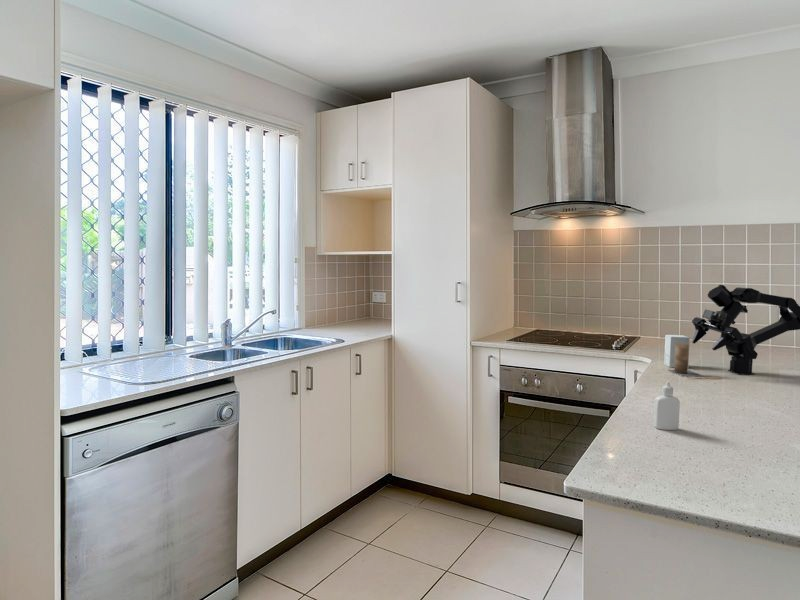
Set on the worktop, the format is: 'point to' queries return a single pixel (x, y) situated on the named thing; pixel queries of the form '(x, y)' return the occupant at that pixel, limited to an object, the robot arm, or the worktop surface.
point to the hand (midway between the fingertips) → (702, 346)
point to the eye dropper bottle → (666, 410)
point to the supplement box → (673, 348)
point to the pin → (681, 358)
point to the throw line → (702, 377)
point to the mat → (688, 373)
